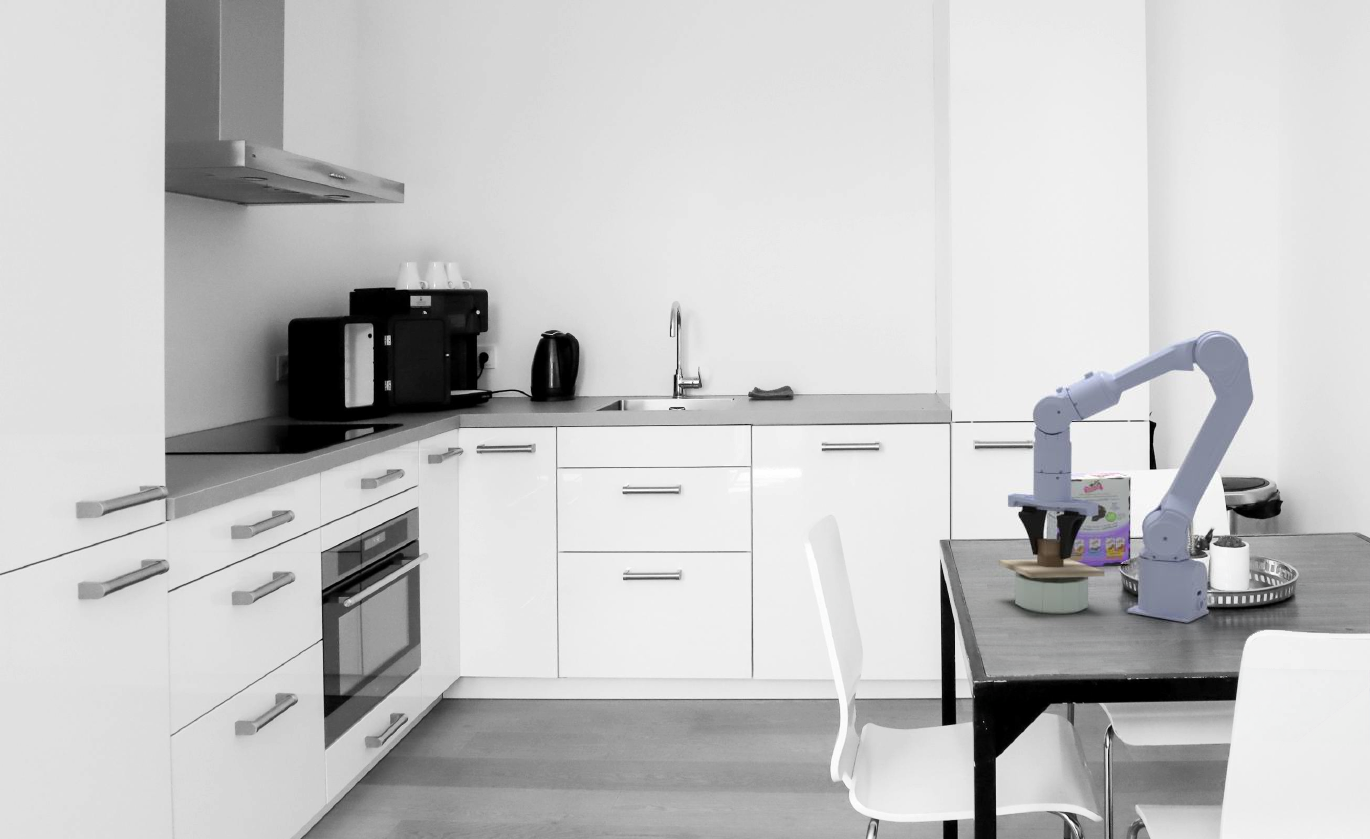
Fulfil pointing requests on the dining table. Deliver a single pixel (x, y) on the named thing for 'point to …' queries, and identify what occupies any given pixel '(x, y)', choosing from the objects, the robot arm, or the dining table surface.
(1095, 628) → the dining table surface
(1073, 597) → the celadon bowl
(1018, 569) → the birch lid
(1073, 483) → the candy box
